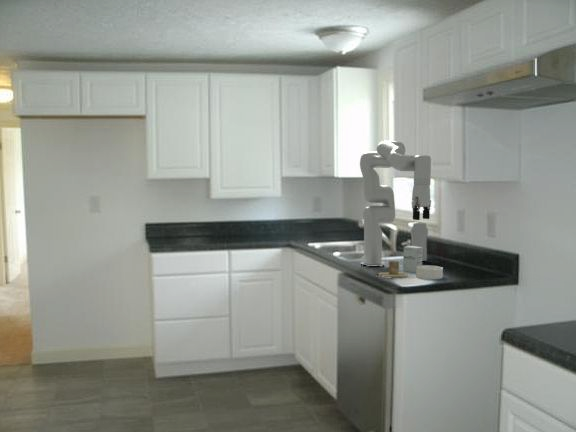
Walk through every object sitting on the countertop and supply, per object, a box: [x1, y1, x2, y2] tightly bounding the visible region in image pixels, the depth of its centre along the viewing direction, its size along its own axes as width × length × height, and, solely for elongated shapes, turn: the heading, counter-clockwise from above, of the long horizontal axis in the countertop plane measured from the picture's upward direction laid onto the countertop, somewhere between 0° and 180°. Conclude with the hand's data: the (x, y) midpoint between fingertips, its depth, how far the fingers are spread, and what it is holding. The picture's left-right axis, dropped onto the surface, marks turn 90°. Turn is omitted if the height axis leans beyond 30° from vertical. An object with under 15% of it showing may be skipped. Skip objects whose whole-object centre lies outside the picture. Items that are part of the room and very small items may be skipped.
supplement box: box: [402, 245, 423, 273], centre depth 300 cm, size 7×7×13 cm
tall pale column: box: [410, 221, 429, 262], centre depth 335 cm, size 11×4×22 cm, turn 106°
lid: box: [378, 260, 409, 279], centre depth 284 cm, size 14×14×7 cm
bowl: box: [415, 264, 444, 280], centre depth 283 cm, size 12×12×5 cm
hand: (421, 219), depth 278 cm, fingers open, 9 cm apart
